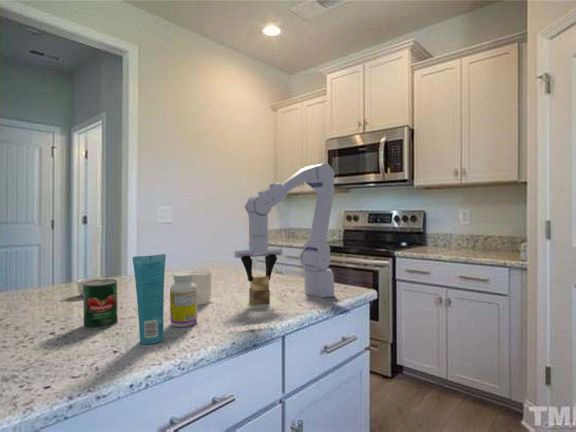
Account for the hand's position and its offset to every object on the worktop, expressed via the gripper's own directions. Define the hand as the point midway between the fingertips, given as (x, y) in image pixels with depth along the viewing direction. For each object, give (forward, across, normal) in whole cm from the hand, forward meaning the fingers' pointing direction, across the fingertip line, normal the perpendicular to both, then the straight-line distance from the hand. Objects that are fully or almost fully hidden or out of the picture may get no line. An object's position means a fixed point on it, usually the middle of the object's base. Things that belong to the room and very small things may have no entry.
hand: (259, 280), depth 113 cm
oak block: (+3, 0, 0) cm, 3 cm away
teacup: (+8, +50, -38) cm, 63 cm away
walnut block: (+7, 0, 0) cm, 7 cm away
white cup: (+8, +17, -8) cm, 20 cm away
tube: (+8, +31, +20) cm, 38 cm away
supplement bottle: (+8, +23, +10) cm, 26 cm away
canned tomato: (+8, +43, +2) cm, 44 cm away
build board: (+8, 0, 0) cm, 8 cm away
